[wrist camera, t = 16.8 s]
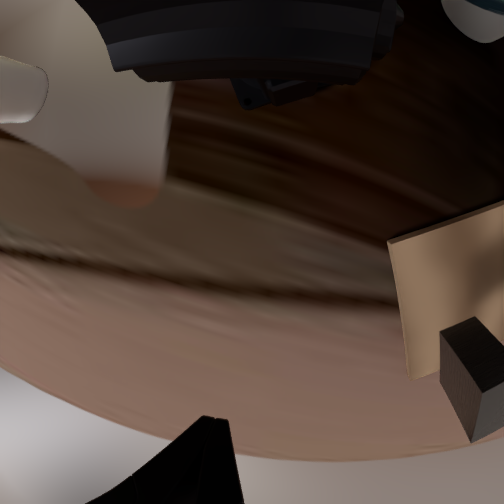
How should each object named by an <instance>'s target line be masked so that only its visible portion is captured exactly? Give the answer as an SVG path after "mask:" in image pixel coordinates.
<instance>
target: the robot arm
mask: <svg viewBox="0 0 504 504" xmlns="http://www.w3.org/2000/svg"><path fill="white" fill-rule="evenodd" d="M75 1H76V2H77V3H78V4H79V5H80V6H81V7H82V8H83V9H84V11H85V12H86V13H87V14H88V15H89V17H90V18H91V19H92V21H93V22H94V23H95V24H96V26H97V28H98V30H99V32H100V34H101V36H102V38H103V40H104V42H105V44H106V46H107V50H108V53H109V56H110V60H111V63H112V66H113V69H114V71H115V72H121V71H126V70H133V71H134V72H135V73H136V74H137V75H138V76H139V77H140V78H141V79H143V80H145V81H146V82H155V81H157V82H169V81H180V80H195V79H217V78H230V80H231V83H232V85H233V88H234V90H235V93H236V95H237V98H238V100H239V103H240V105H241V107H242V108H243V109H245V110H252V109H255V108H258V107H261V106H264V105H267V104H269V103H272V104H273V105H275V106H280V105H283V104H286V103H289V102H292V101H296V100H299V99H302V98H306V97H309V96H312V95H314V94H315V92H316V89H318V88H322V87H325V86H329V85H333V84H337V85H344V84H348V85H355V84H356V83H358V82H359V81H360V80H361V79H362V78H363V76H364V75H365V73H366V70H367V71H368V70H369V69H370V64H371V60H380V59H382V58H383V57H384V56H385V55H386V53H387V52H390V50H391V46H392V40H393V34H394V30H395V29H396V28H398V27H399V26H401V25H402V24H403V21H404V13H403V10H402V9H401V8H400V6H399V5H398V4H397V0H75ZM247 99H250V100H252V103H251V104H250V105H248V106H247V105H245V101H246V100H247ZM85 504H244V499H243V494H242V489H241V484H240V480H239V474H238V470H237V464H236V459H235V453H234V448H233V443H232V437H231V432H230V426H229V421H228V420H227V419H222V418H216V419H215V418H214V417H210V416H205V415H203V416H201V417H200V418H199V419H198V420H197V421H195V422H194V423H193V424H192V425H191V426H190V427H189V428H188V429H186V430H185V431H184V432H183V433H182V434H181V435H179V436H178V437H177V438H176V439H175V440H174V441H172V442H171V443H170V444H169V445H168V446H167V447H165V448H164V449H163V450H162V451H161V452H159V453H158V454H157V455H156V456H154V457H153V458H152V459H151V460H150V461H148V462H147V463H146V464H145V465H143V466H142V467H141V468H140V469H138V470H137V471H136V472H135V473H133V474H132V476H129V477H128V478H126V479H125V480H124V481H123V482H121V483H120V484H118V485H117V486H115V487H114V488H113V489H111V490H109V491H108V492H106V493H104V494H102V495H101V496H99V497H97V498H95V499H93V500H91V501H89V502H87V503H85Z"/></svg>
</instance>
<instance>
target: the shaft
mask: <svg viewBox="0 0 504 504" xmlns="http://www.w3.org/2000/svg"><path fill="white" fill-rule="evenodd" d="M439 338H440V383H441V385H442V387H443V389H444V390H445V392H446V394H447V396H448V398H449V400H450V402H451V404H452V406H453V408H454V410H455V412H456V414H457V416H458V418H459V420H460V422H461V424H462V426H463V428H464V430H465V432H466V434H467V436H468V438H469V441H470V443H473V442H475V441H477V440H479V439H481V438H483V437H485V436H487V435H489V434H491V433H493V432H494V431H496V430H498V429H500V428H501V427H503V426H504V346H503V345H502V344H501V343H500V342H499V340H498V339H497V338H496V337H495V336H494V335H493V334H492V333H491V332H490V331H489V330H488V329H487V328H486V327H485V326H484V325H483V324H482V323H481V322H480V321H479V320H478V319H477V318H476V317H475V316H474V317H471V318H469V319H467V320H465V321H462V322H460V323H458V324H455V325H453V326H451V327H448V328H446V329H443V330H441V331H439Z"/></svg>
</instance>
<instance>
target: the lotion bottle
mask: <svg viewBox="0 0 504 504" xmlns="http://www.w3.org/2000/svg"><path fill="white" fill-rule="evenodd" d="M441 2H442V6H443V8H444V11H445V13H446V14H447V16H448V18H449V19H450V20H451V22H452V23H453V24H454V25H455V26H456V27H457V28H458V29H459V30H460V31H461V32H462V33H464V34H465V35H466V36H468V37H469V38H471V39H473V40H475V41H478V42H481V43H489V42H492V41H495V40H497V39H499V38H501V37H503V36H504V0H441Z"/></svg>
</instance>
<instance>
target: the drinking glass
mask: <svg viewBox="0 0 504 504" xmlns="http://www.w3.org/2000/svg"><path fill="white" fill-rule="evenodd" d="M47 92H48V78H47V75H46V73H45V72H44V71H43V69H41V68H39V67H35V66H31V65H27V64H24V63H21V62H18V61H15V60H12V59H9V58H7V57H3V56H0V124H1V123H25V122H28V121H30V120H31V119H33V118H34V117H35V116H36V115H37V114H38V113H39V111H40V110H41V108H42V106H43V104H44V102H45V99H46V96H47Z"/></svg>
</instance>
